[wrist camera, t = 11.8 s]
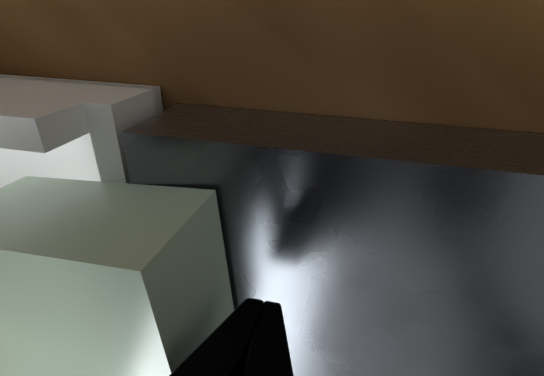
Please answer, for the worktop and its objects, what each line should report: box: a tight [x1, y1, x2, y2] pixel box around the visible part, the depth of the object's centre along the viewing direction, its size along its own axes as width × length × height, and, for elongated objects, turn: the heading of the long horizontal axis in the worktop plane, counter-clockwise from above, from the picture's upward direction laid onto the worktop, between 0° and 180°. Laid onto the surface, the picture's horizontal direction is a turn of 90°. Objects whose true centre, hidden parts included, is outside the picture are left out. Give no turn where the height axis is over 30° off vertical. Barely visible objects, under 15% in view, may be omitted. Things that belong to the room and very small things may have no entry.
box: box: [0, 74, 163, 188], centre depth 14 cm, size 17×11×4 cm, turn 179°
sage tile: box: [0, 176, 234, 376], centre depth 9 cm, size 6×6×3 cm
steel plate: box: [121, 103, 544, 376], centre depth 12 cm, size 16×14×3 cm
